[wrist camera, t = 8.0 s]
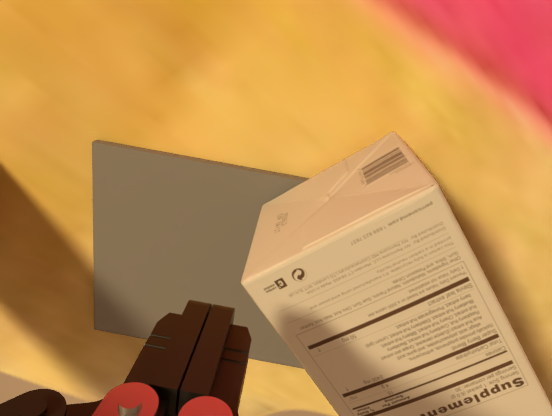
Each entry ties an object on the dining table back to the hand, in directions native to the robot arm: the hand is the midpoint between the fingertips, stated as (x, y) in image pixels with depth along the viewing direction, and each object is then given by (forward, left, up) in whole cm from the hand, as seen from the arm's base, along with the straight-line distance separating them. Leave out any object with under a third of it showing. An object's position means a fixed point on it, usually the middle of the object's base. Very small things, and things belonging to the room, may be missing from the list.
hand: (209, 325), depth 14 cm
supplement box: (-3, -2, -8) cm, 9 cm away
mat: (0, +6, -13) cm, 15 cm away
